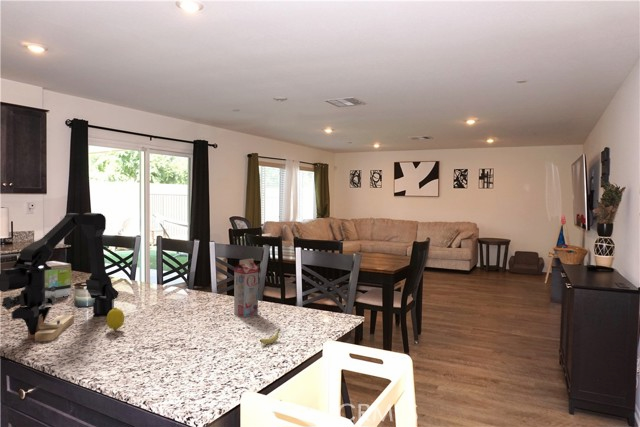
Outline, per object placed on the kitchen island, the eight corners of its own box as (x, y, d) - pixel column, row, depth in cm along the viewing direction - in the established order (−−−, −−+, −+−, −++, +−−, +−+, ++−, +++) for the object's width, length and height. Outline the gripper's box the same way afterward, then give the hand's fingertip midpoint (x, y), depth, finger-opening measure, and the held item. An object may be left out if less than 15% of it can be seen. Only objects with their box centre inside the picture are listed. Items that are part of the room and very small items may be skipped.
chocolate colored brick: (63, 333, 143) (63, 315, 143) (58, 337, 139) (58, 318, 139) (33, 334, 141) (32, 316, 141) (27, 338, 137) (27, 320, 137)
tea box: (72, 295, 195) (71, 263, 194) (48, 299, 186) (48, 266, 185) (55, 290, 203) (55, 260, 202) (31, 294, 194) (31, 262, 194)
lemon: (106, 334, 143) (106, 310, 143) (106, 329, 148) (106, 306, 148) (124, 331, 146) (124, 308, 145) (123, 327, 150) (123, 304, 150)
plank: (74, 321, 156) (73, 315, 156) (52, 340, 136) (52, 332, 136) (58, 322, 155) (58, 315, 154) (35, 341, 135) (34, 333, 135)
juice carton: (257, 314, 170) (258, 259, 169) (244, 317, 165) (244, 261, 164) (247, 310, 174) (248, 257, 173) (234, 314, 169) (234, 259, 168)
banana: (278, 339, 141) (278, 327, 141) (281, 340, 140) (281, 328, 140) (258, 345, 135) (258, 333, 135) (262, 346, 134) (262, 334, 134)
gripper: (20, 280, 146) (20, 325, 147) (-9, 292, 128) (-8, 344, 129) (56, 279, 149) (56, 323, 149) (33, 291, 130) (33, 341, 131)
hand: (35, 332), depth 140 cm, fingers closed on chocolate colored brick, 4 cm apart
